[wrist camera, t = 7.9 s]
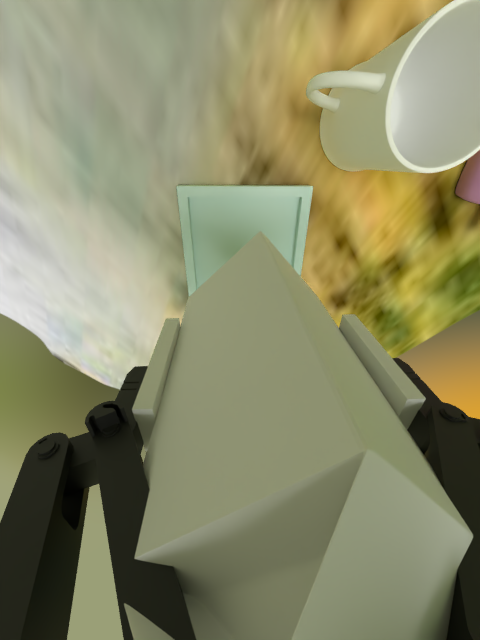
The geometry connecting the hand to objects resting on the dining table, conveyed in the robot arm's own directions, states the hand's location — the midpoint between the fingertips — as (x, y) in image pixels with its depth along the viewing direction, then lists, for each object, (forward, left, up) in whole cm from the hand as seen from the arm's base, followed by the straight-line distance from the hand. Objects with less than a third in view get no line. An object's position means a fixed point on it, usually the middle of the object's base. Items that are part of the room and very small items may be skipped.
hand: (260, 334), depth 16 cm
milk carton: (-1, 0, -4) cm, 5 cm away
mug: (-13, +10, -18) cm, 25 cm away
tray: (0, 0, -18) cm, 18 cm away
